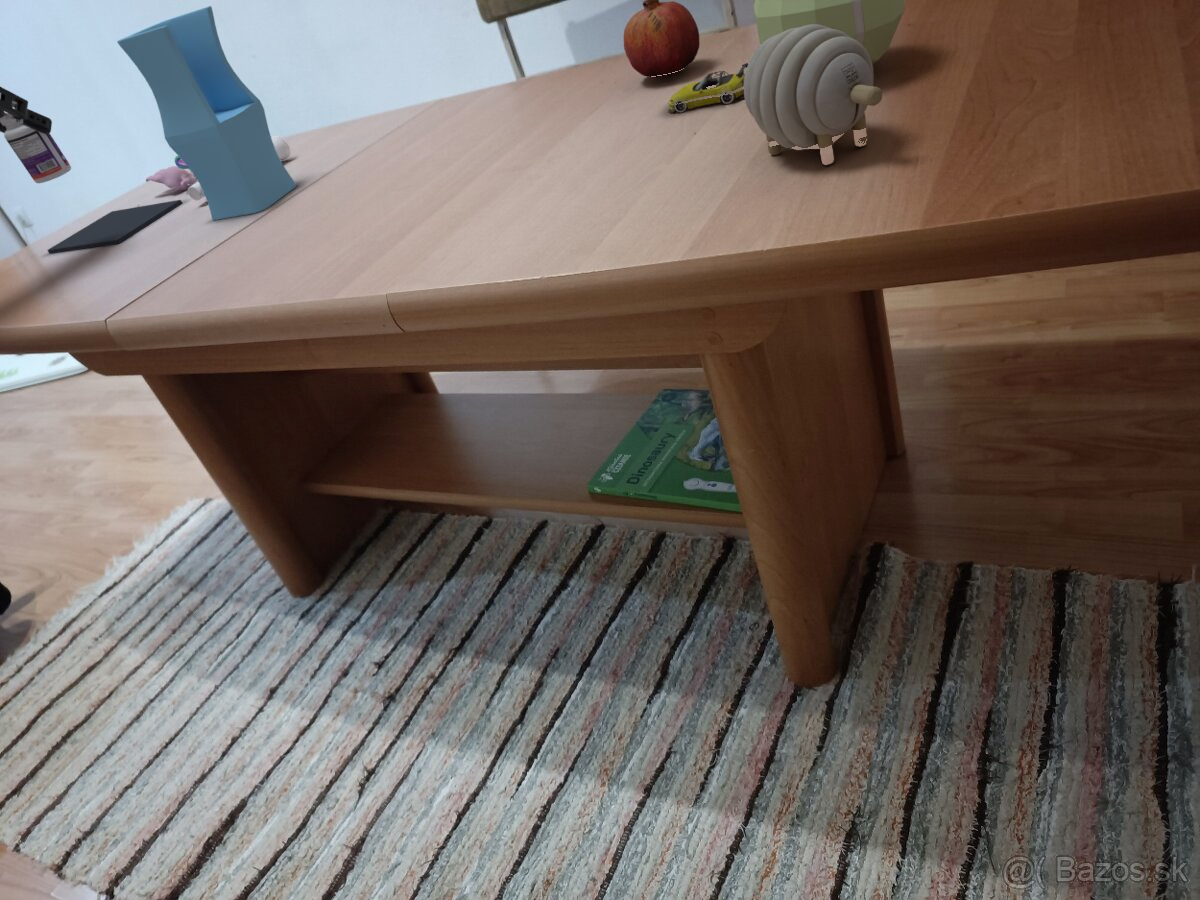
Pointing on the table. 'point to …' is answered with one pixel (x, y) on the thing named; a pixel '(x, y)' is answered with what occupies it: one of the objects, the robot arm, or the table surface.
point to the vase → (210, 114)
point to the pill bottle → (36, 151)
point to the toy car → (709, 91)
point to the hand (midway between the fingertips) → (36, 130)
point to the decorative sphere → (834, 19)
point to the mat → (115, 227)
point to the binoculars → (281, 149)
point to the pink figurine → (174, 176)
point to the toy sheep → (809, 87)
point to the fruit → (661, 39)
